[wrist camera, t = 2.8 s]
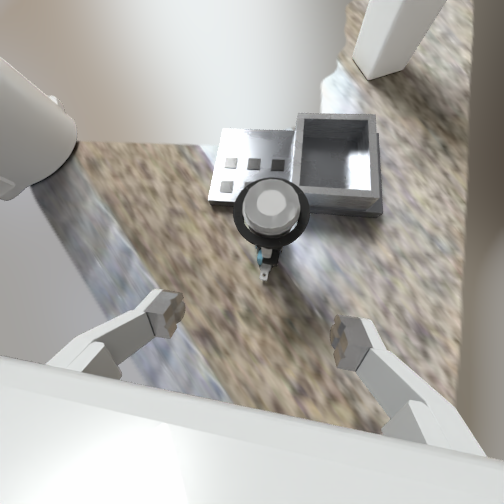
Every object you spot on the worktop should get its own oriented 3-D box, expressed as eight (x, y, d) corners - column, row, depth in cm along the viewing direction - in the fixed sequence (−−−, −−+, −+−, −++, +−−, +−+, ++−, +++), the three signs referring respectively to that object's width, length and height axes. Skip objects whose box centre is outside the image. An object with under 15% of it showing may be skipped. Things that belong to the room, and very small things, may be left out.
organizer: (210, 204, 24) (200, 187, 20) (225, 136, 26) (218, 110, 23) (376, 217, 21) (398, 201, 18) (373, 141, 24) (391, 113, 20)
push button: (286, 285, 20) (303, 271, 11) (239, 276, 21) (215, 253, 11) (295, 230, 22) (318, 173, 12) (252, 222, 22) (240, 163, 13)
